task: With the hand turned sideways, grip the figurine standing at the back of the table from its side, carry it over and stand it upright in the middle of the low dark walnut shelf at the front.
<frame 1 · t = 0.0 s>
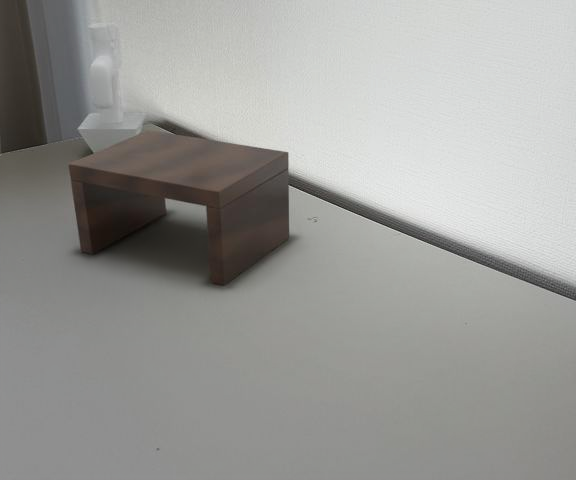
figurine: (116, 151, 109), on the table
shelf: (186, 244, 84), on the table
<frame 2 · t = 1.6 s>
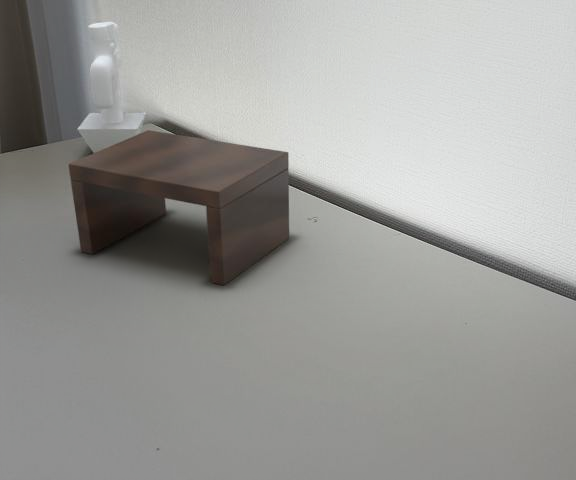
nothing on the table moved.
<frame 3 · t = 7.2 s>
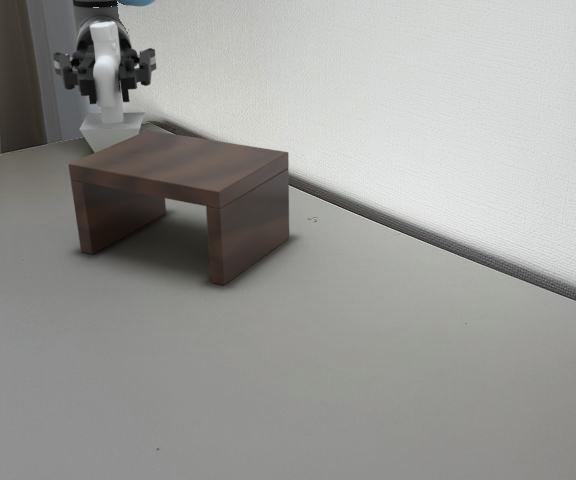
hand: (108, 91, 100), 9 cm above the table, tool horizontal, fingers closed on figurine, 3 cm apart
figurine: (116, 151, 109), on the table, touching gripper
when the fingers open (17 cm above the table, at t = 16.5 s): figurine stays where it is, resting on shelf.
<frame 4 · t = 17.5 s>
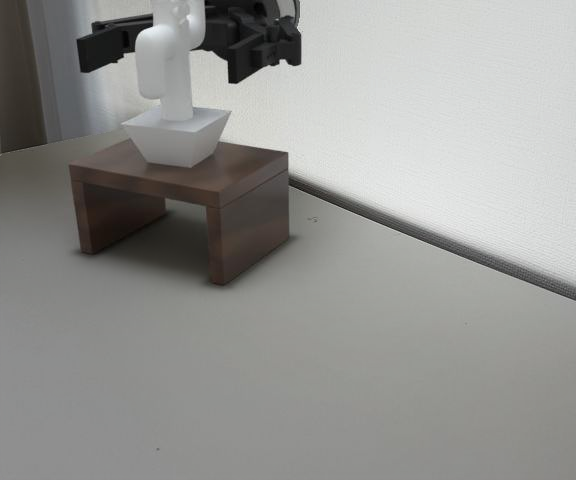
hand: (154, 61, 72), 18 cm above the table, tool horizontal, fingers open, 13 cm apart
figurine: (180, 160, 79), point 8 cm above the table, touching shelf
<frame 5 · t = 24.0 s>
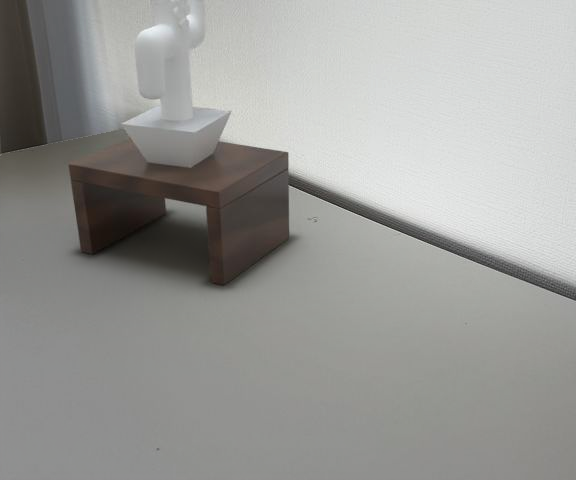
nothing on the table moved.
at the end: figurine inside the target area on the shelf (0.1 cm from its centre), point 8.3 cm above the shelf's base; figurine tilted 0°; the gripper is holding nothing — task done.
